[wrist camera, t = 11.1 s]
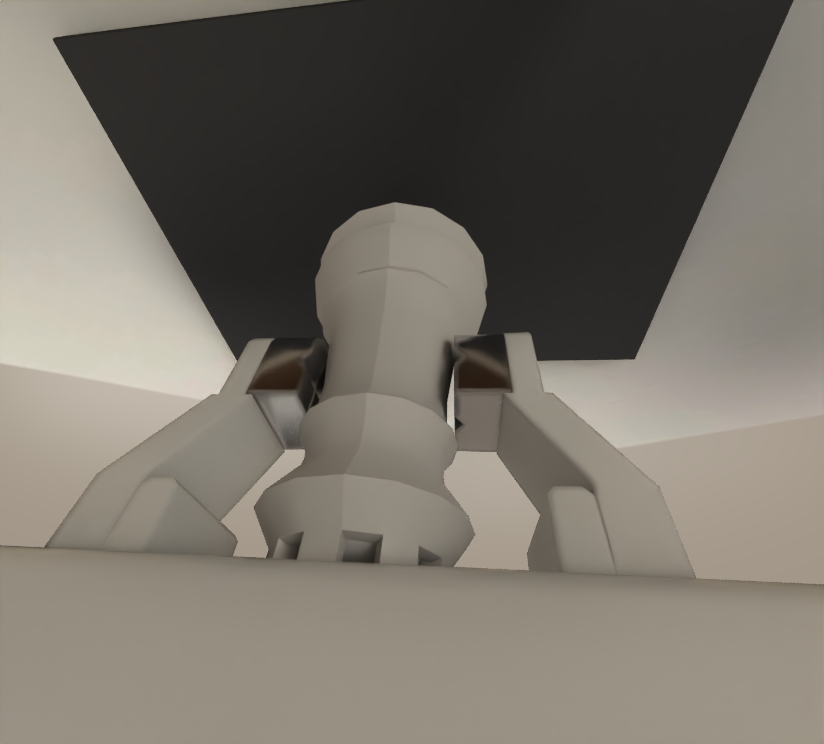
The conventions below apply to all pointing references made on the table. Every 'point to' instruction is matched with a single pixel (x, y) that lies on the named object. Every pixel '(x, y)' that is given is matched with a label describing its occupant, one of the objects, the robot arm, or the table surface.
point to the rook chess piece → (383, 397)
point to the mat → (435, 146)
